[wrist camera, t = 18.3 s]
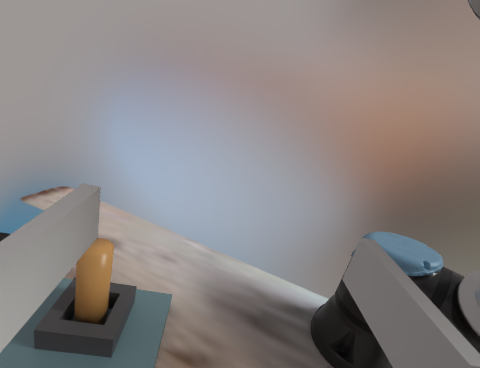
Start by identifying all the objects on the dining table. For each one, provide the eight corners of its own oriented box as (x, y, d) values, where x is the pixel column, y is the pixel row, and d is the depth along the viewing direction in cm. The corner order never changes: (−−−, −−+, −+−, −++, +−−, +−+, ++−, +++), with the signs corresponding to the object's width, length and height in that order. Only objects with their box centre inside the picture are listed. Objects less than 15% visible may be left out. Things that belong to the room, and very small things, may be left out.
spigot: (111, 313, 43) (118, 241, 38) (98, 337, 39) (105, 260, 34) (83, 308, 43) (87, 235, 38) (67, 333, 38) (70, 254, 34)
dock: (171, 300, 50) (175, 279, 49) (147, 392, 35) (152, 367, 34) (47, 282, 47) (47, 259, 46) (-35, 374, 32) (-39, 345, 31)
